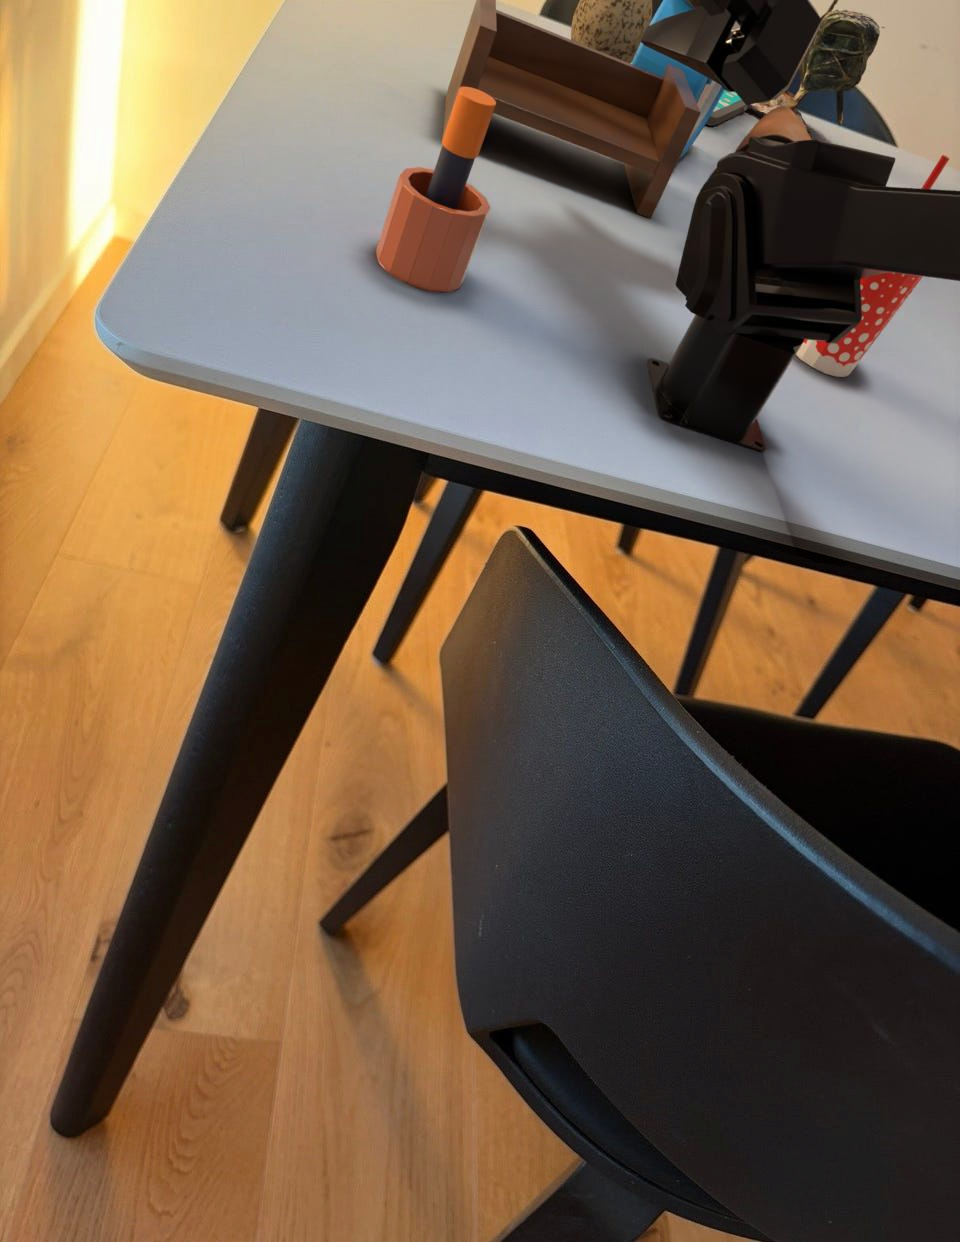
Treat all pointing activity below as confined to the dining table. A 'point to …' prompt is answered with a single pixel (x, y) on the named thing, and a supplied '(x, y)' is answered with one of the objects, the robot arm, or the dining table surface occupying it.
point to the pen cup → (430, 234)
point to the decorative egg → (612, 25)
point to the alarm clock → (700, 85)
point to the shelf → (579, 96)
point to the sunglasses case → (777, 128)
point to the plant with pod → (832, 59)
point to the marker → (460, 146)
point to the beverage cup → (866, 315)
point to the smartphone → (727, 108)
